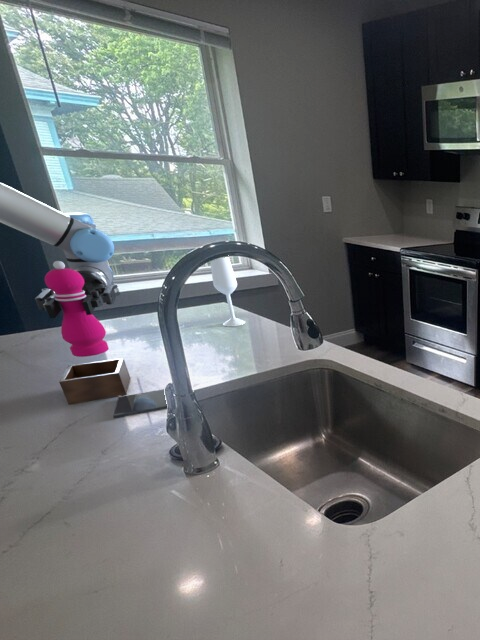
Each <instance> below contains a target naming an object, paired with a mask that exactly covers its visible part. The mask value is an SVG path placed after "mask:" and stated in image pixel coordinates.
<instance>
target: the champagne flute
mask: <svg viewBox="0 0 480 640" xmlns="http://www.w3.org/2000/svg"><path fill="white" fill-rule="evenodd" d="M209 262H210V261H209ZM210 270H211V276H212V284H213V288H214V289H215V290H217V291H218V292H219V293H221V294H222V295H225V297H226V301H227V307H228V310H229V316H230V318H229V319H228V320H226V321H225V322H223V324H222V326H224V327H238V326H241V325H242V326H243V325H244V324H246V320H243V319H240V318H239V317H236V315H235V310H234V306H233V302H232V297H231V294H233V293H234V291H235V290H236V289H237V287H238V281H237V278H236V274H235V271H234V268H233V266H232V263H231V259H230V256H229V257H225V258H219V259H217V260H215V261H212V262H210Z"/></svg>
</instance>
